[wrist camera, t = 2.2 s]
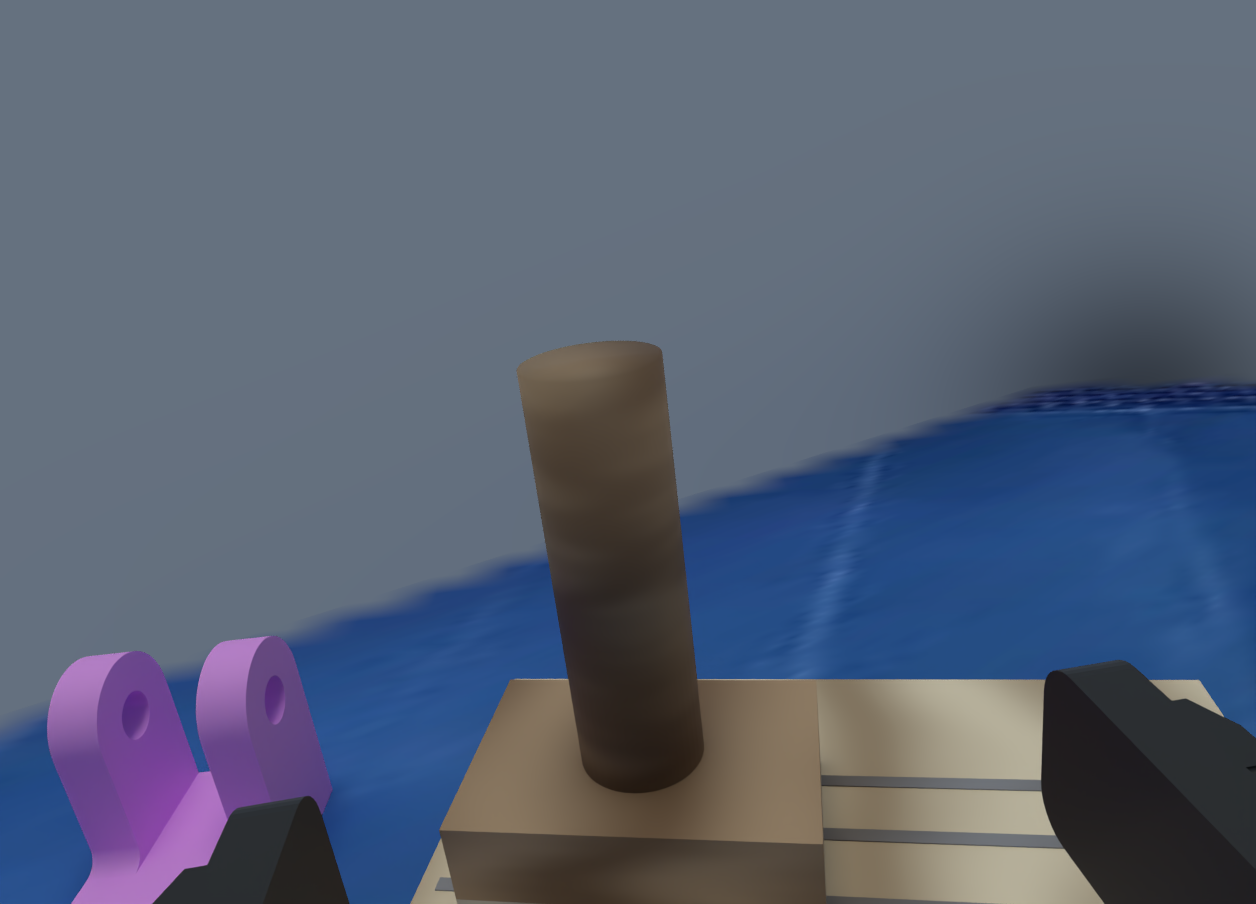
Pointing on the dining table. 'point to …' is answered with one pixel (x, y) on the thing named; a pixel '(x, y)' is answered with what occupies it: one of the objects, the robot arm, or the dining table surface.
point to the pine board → (929, 795)
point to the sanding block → (631, 690)
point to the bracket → (177, 759)
